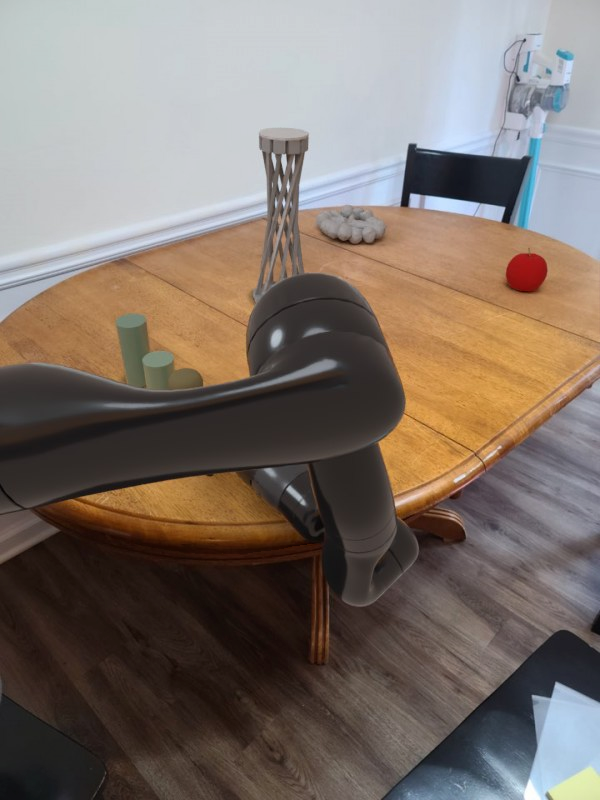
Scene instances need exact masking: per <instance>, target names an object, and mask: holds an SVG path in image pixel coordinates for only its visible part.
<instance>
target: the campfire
mask: <svg viewBox="0 0 600 800" xmlns="http://www.w3.org/2000/svg"><path fill="white" fill-rule="evenodd" d="M340 210H341V211H339V210H338V209H333V210H331V211H329V210H323V211H321V213H319V214H318V215H317V216H316V217H315V225H316V227H317V228H318V229H319V230H320V231H321V233H323V234H325V235H326V236H327V237H329V238H331V239H332V240H334V239H339V240H341V241H342V242H344V241H347V240H348V241H349V242H350V243H351V244H353V245H357V244H359V243H360V242H361V241H364V243H366V244H371V243H374V241H375V239H376V240H378V239H381V238H383V237H384V234H385V233H386V230H387V224H386V222H385V221H384V220H381V219H380V218H379V217H377V216H374V212H373V211H372V209H367V210H365V209H364V208H363V207H360V206H359V207H358V206H357V207H353V206H352V205H350V204H345V205H343V206H342V208H341V209H340Z"/></svg>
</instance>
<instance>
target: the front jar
mask: <svg viewBox="0 0 600 800" xmlns="http://www.w3.org/2000/svg"><path fill="white" fill-rule="evenodd" d="M142 362H143V368H144V375H145V381H146V386H145V388H148V389H155V390H169V388H168V380H169V377H170V375H171V374H172V373H173V372H174V371H176V370H177V368H176V363H175V362H176V361H175V356H174V354H173V353H172V352H170V351H167V350H154V351H151V352H150V353H148V354H146V355H145V356H144V357H143V359H142Z"/></svg>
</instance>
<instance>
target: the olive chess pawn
mask: <svg viewBox="0 0 600 800" xmlns="http://www.w3.org/2000/svg"><path fill="white" fill-rule="evenodd" d="M202 386H204V379H203V376H202V374H201V373H200V372H199V371H198V370H197V369H194V368H190V367H183V368H178V369H176V371H174V372H173V373H172V374H171V375H170V377H169V380H168V388H169V390H177V389H189V388H195V387H202Z"/></svg>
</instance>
